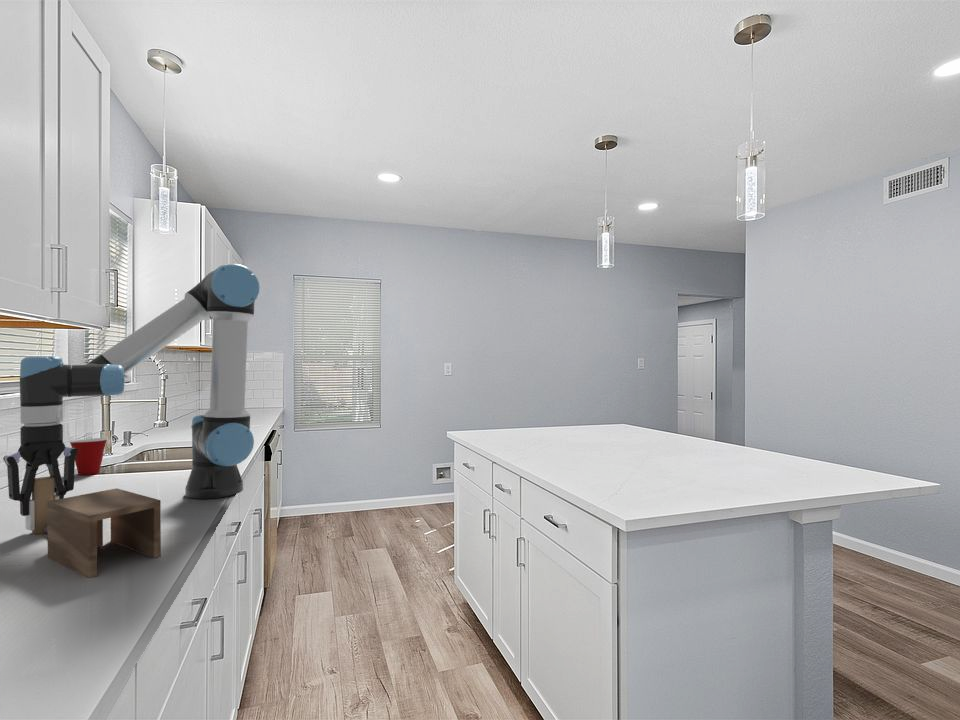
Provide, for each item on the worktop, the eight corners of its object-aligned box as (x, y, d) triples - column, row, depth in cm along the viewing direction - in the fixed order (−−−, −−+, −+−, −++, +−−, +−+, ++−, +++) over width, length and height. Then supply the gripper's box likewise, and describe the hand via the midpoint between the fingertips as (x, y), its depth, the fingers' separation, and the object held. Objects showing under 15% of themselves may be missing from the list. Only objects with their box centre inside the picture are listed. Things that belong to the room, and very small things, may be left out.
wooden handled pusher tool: (55, 526, 126) (55, 475, 126) (102, 545, 113) (102, 488, 113) (23, 533, 121) (23, 480, 121) (69, 554, 108) (68, 495, 108)
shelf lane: (116, 539, 117) (116, 488, 117) (160, 556, 107) (160, 500, 107) (47, 557, 106) (47, 501, 106) (89, 577, 97) (89, 515, 97)
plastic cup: (109, 469, 189) (109, 435, 189) (106, 474, 180) (106, 439, 180) (71, 472, 184) (71, 437, 184) (66, 478, 175) (66, 441, 175)
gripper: (77, 419, 132) (78, 514, 132) (-13, 427, 117) (-12, 534, 117) (92, 421, 128) (92, 519, 128) (0, 429, 113) (1, 540, 113)
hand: (42, 526), depth 123 cm, fingers closed on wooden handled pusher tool, 4 cm apart
